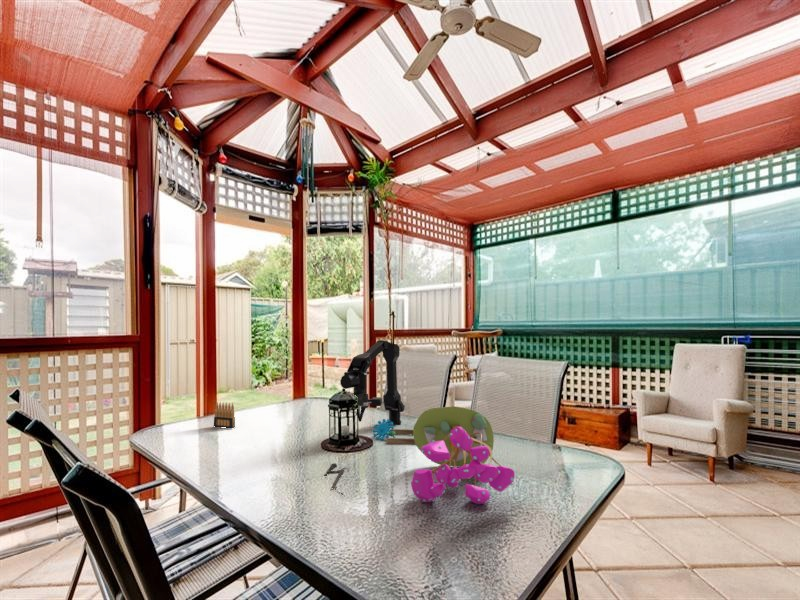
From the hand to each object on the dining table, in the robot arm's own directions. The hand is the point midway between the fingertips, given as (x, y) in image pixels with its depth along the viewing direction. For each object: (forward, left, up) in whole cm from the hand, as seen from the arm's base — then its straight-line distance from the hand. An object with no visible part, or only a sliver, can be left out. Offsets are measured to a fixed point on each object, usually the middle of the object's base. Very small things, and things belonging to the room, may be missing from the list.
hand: (360, 421), depth 163 cm
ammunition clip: (-12, -68, -7) cm, 69 cm away
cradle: (0, +21, -7) cm, 23 cm away
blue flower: (0, +11, -7) cm, 13 cm away
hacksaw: (+44, -1, -8) cm, 45 cm away
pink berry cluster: (+48, +38, -7) cm, 62 cm away
